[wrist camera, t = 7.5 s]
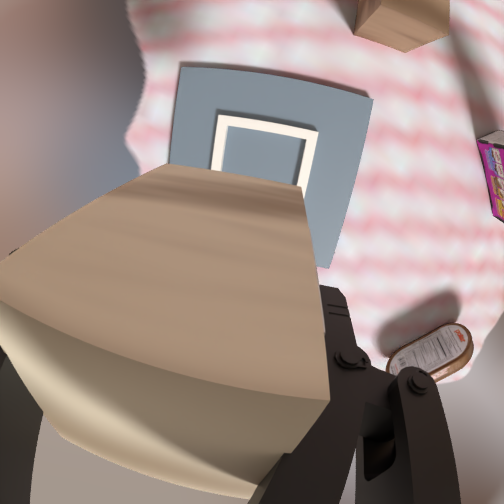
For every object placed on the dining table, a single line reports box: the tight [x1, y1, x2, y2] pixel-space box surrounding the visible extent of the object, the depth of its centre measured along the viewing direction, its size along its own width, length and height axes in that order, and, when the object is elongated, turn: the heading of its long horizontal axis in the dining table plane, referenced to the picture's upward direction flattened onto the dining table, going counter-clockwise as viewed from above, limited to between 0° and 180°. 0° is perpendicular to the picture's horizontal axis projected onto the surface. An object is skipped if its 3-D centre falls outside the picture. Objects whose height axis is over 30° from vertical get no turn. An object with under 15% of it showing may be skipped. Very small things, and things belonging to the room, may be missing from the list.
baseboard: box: [169, 67, 374, 269], centre depth 29 cm, size 20×20×1 cm
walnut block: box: [354, 0, 450, 53], centre depth 16 cm, size 6×6×10 cm
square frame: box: [211, 115, 319, 198], centre depth 29 cm, size 10×10×1 cm
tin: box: [386, 323, 474, 383], centre depth 35 cm, size 15×3×8 cm, turn 126°
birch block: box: [0, 163, 330, 499], centre depth 9 cm, size 6×6×10 cm
